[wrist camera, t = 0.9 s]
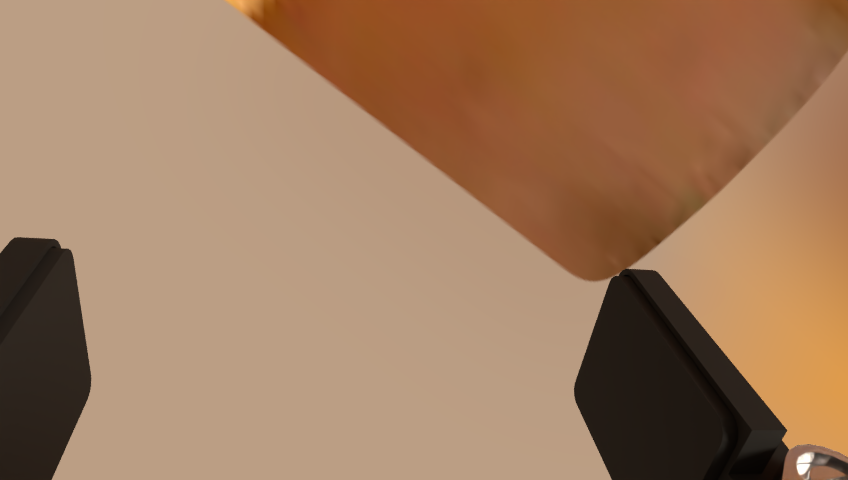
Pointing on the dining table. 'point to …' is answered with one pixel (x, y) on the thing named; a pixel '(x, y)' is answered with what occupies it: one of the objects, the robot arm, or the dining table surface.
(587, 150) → the dining table surface
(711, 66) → the dining table surface
